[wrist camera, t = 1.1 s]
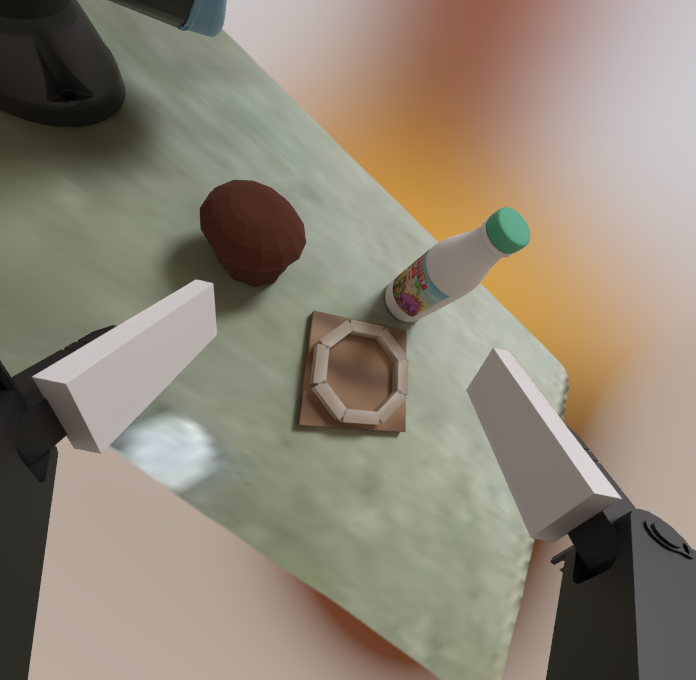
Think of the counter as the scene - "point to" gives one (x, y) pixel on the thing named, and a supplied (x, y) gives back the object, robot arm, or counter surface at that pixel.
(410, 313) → the milk bottle
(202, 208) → the muffin
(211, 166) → the counter surface
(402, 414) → the ring stand
